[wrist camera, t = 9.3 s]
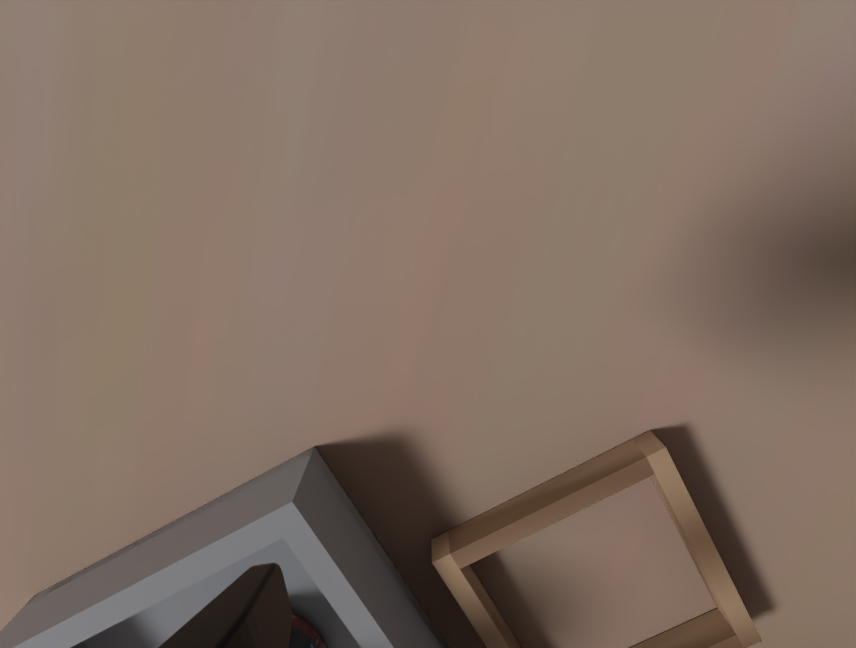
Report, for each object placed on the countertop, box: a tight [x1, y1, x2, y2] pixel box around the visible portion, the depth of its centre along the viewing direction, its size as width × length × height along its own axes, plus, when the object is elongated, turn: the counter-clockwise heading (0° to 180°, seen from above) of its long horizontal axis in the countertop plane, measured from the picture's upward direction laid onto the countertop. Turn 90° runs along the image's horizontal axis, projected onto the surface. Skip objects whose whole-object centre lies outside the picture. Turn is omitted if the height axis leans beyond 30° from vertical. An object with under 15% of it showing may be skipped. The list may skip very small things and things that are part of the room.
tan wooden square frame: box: [431, 430, 762, 648], centre depth 23 cm, size 10×10×2 cm
